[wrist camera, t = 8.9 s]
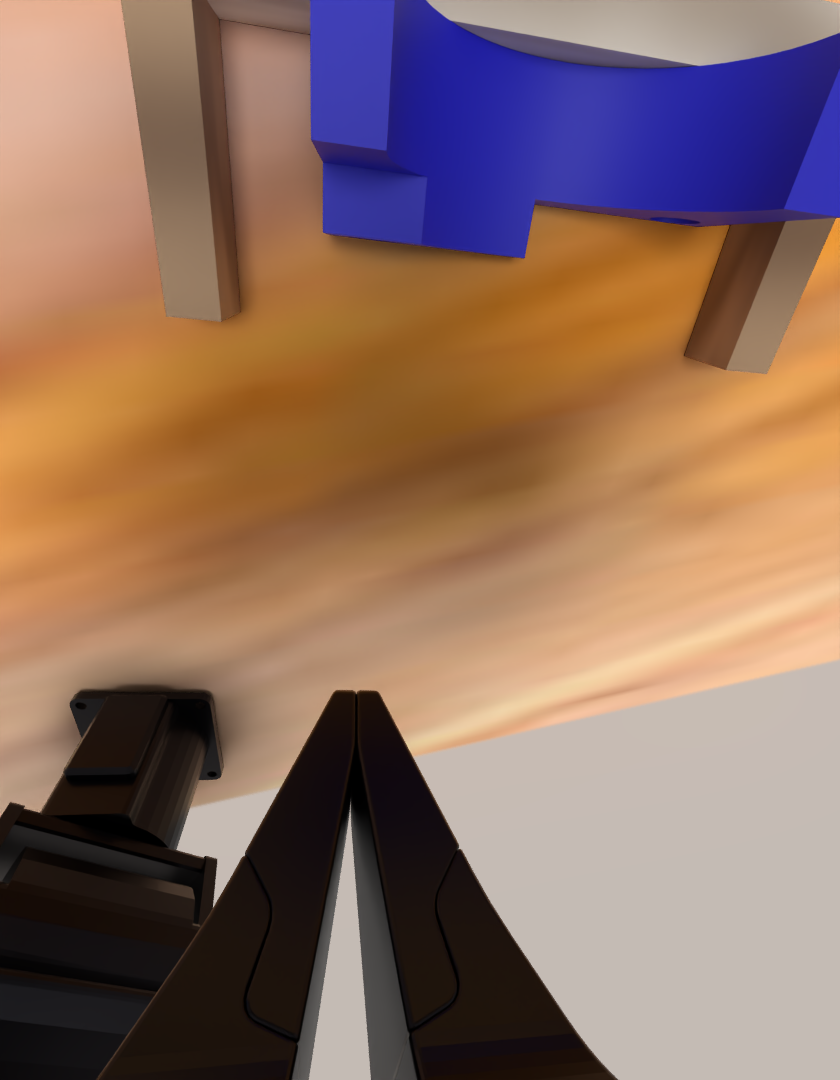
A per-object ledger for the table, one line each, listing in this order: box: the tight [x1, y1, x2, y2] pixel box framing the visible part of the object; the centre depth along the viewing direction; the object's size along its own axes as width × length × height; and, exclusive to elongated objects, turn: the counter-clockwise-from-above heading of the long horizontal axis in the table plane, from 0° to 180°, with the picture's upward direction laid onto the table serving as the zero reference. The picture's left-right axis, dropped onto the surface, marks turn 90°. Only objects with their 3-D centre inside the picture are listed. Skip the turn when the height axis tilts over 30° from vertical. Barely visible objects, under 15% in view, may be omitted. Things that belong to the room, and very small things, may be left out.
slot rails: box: [121, 0, 840, 374], centre depth 14 cm, size 8×19×2 cm, turn 84°
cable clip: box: [310, 0, 840, 258], centre depth 13 cm, size 12×4×6 cm, turn 84°
